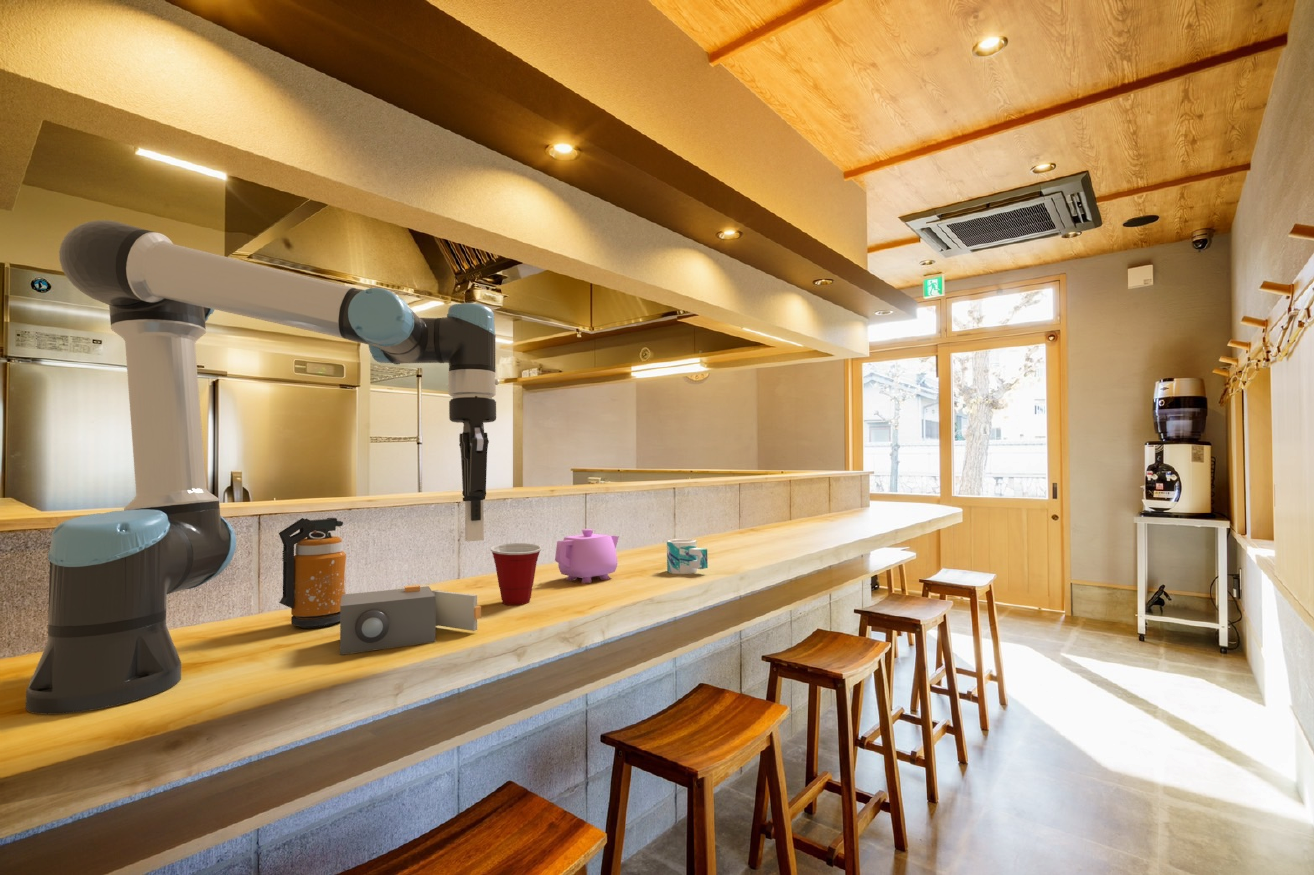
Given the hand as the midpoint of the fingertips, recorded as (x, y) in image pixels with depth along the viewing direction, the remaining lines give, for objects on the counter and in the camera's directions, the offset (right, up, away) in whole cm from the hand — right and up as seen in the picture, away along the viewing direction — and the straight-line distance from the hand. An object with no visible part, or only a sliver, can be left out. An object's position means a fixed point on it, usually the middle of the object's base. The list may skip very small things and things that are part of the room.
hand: (474, 540), depth 101 cm
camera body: (-15, -17, +2) cm, 23 cm away
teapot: (+13, -20, +56) cm, 61 cm away
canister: (-34, -18, +13) cm, 41 cm away
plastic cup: (0, -18, +29) cm, 35 cm away
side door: (-6, -17, +8) cm, 20 cm away
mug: (+38, -19, +63) cm, 76 cm away
